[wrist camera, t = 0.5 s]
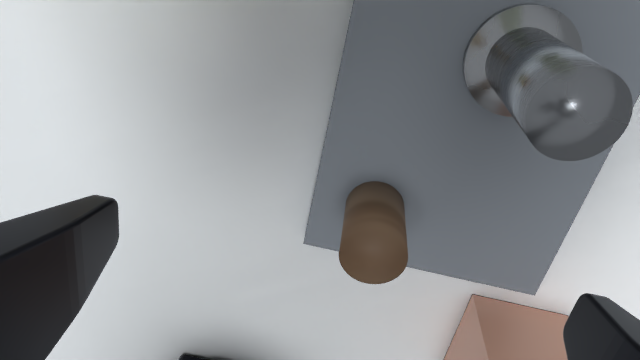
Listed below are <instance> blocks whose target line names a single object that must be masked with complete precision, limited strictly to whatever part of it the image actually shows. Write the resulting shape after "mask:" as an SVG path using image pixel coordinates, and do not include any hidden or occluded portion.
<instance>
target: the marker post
mask: <svg viewBox="0 0 640 360" xmlns="http://www.w3.org/2000/svg"><path fill="white" fill-rule="evenodd" d="M463 74H464V79H465V83H466V85H467V88H468V90H469V92H470V93H471V95H472V96H473V98H474V99H475V100H476V101H477V102H478V104H480V105H481V106H482V107H483V108H485V109H486V110H488V111H490V112H492V113H494V114H498V115H501V116H507V117H513V118H514V120H515V121H516V122H517V124H518V125H519V127H520V128H521V129H522V131H523V132H524V134H525V135H526V136H527V138H528V139H529V141H530V142H531V144H532V145H533V146H534V147H535V148H536V149H537V150H538V151H539V152H540V153H542V154H543V155H545V156H547V157H549V158H552V159H555V160H560V161H578V160H584V159H587V158H590V157H593V156H595V155H597V154H599V153H601V152H603V151H605V150H606V149H608V148H609V147H610V146H611V145H613V144H614V143H615V142H616V141H617V140H618V139H619V138H620V136H621V135H622V134H623V133H624V131H625V129H626V128H627V126H628V123H629V121H630V118H631V115H632V109H633V101H632V95H631V92H630V89H629V88H628V86H627V84H626V83H625V81H624V80H623V79H622V78H621V77H620V76H619V75H617V74H615V73H614V72H612V71H611V70H609V69H607V68H606V67H604V66H602V65H601V64H599V63H597V62H596V61H594V60H592V59H591V58H589V57H587V56H586V55H584V54H583V53H582V43H581V38H580V35H579V33H578V31H577V29H576V27H575V26H574V24H573V23H572V22H571V20H570V19H568V18H567V17H566V16H565V15H564V14H562V13H561V12H559V11H557V10H555V9H553V8H551V7H548V6H545V5H541V4H518V5H514V6H511V7H508V8H505V9H503V10H501V11H499V12H497V13H495V14H494V15H492V16H491V17H489V18H488V19H487V20H486V21H485V22H484V23H482V24H481V26H480V27H479V28H478V29H477V30H476V31H475V33H474V34H473V36H472V37H471V39H470V41H469V43H468V45H467V48H466V51H465V55H464V60H463Z"/></svg>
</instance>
